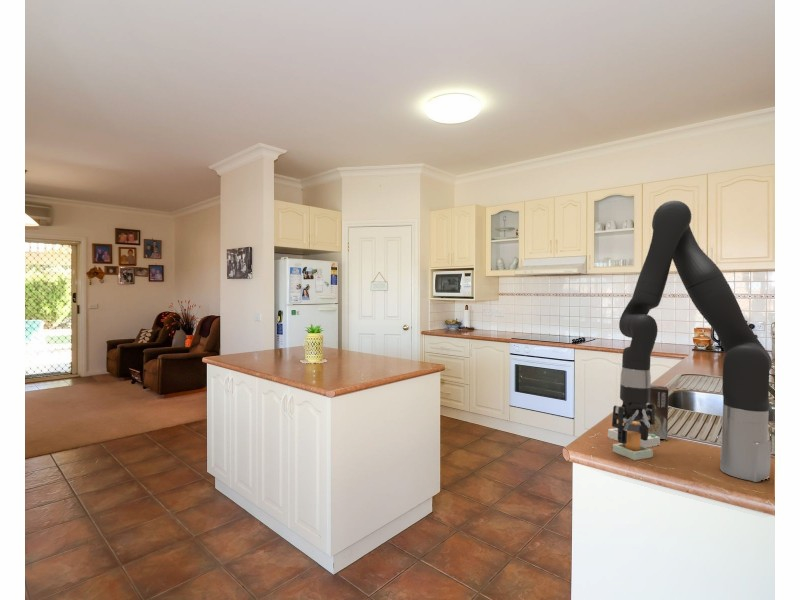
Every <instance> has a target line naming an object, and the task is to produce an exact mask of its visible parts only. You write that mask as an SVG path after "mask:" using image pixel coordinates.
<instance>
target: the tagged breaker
mask: <svg viewBox="0 0 800 600" xmlns="http://www.w3.org/2000/svg"><path fill="white" fill-rule="evenodd" d="M640 426H641V425H640V424H639V422H637V421H633V422H632V424H631V425H629V426H628V428H627V431H634V432H638V433H639V427H640Z"/></svg>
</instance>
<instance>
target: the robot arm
mask: <svg viewBox="0 0 800 600" xmlns="http://www.w3.org/2000/svg"><path fill="white" fill-rule="evenodd" d="M691 221H692V212H691V209H690V207H689V206H688V205H687V204H686V203H685V202H683V201H680V200H670V201H669V200H668V201H666V202H663V203H662V204H661V205H659V207H658V208H657V209H656V210H655V212H654V214H653V217H652V222H651V227H652V237H651V241H650V245H649V247H648V251H647V255H646V257H645V259H644V261H643V265H642V268H641V271H640V273H639V276H638V277H637V278H638V279H637V281H636V285H635V288H634V291H633V295H632V297H631V299H630V300H629V302H628V303H627V305H626V306H625V308H624V310H623V312H622V313H621V315H620V318H619V322H618V326H619V331H620V332H621V334H622V335H623V336H625V337H626V338H631V340H630V345H629V346H627V347H625V348H624V349H623V350H622V356H621V357H622V363H621V370H620V371H621V372H620V389H619V399H620V400H621V401H622V405H621V406H618V405H614V406H613V409H612V422H611V426H612V427H613V428H614V429H615V428H617V429H618V441H617V442H619V443H622V444H626V443H627V431H626V430H627V428H628V426H629V425H631V424H632V422H633V421H636V420H638V422H639V424H640V425H641V426H640V427H639V433H640V434H641V440H644V441H646V440H648V428H649V427H650V425H651V424H652V425H654V423H655V405H654V404H651V403H649V402H650V385H652V384H651V383H652V382H651V380H652V377H651V356H652V351H653V349H654V347H655V342H656V340H657V337H658V330H659V329H658V323H657V321H656V320H655V318H654V317H653V316H651V315H649V313H650V311H651V310H652V309H656V308H658V306H659V305H660V303H661V300H662V298H663V294H664V291H665V287H666V285H667V281H668V277H669V273H670V269H671V265H672V261H673V263H674V266H675V268H676V271H677V273H678V276H679V277H680V280H681V282H682V284H683V287H684V288H685V291H686V293H687V295H688V296H689V298H690V300H691V301H692V304H693V305H694V307H695V308H696V309H697V311H698V312H699V313H700V315H701V316H702V317H703V319H704V320H705V321H706V322H707V323H708V324H709V326H711V328H712V329H713V331H714V332H715V334H716V336H717V337H718V339H719V341H720V344H721V345H722V349H723V351H724V357H723V361H722V362H723V363H722V382H721V383H722V386H721V390H722V391H721V393H722V397H723V400H722V401H723V402H722V403H723V404H722V420H721V423H722V424H721V442H720V443H721V445H720V467H719V468H720V469H719V470H721V472H722V473H724V474H726V475H729V476H732V477H734V478H738V479H740V480H741V479H742V480H746V481H751V482H754V483H758V482H762V481H761V480H763V481H766V480H765V479H766V478H767V477H768V476H770V477H771V459H772V441H771V440H768V435H769V434H768V433H769V432H768V431H769V413H770V411H769V410H770V409H769V408H770V397H769V396H770V395H769V393H770V392H769V391H770V371H771V369H772V367H773V366H772V365H773V361H772V357H771V356H770V353H769V352H768V351H767V350H766V348H765V347H764V346H763V344H762V343H761V341H759V339H758V338H757V336H756V334H755V333H754V332H753V331H752V329H751V327H750V326H749V324H748V322H747V321H746V318H745V316H744V314H743V312H742V309H741V306H740V304H739V303H738V302H739V301H738V299H737V298H736V296H735V294H734V293H733V290H732V288H731V286H730V284H729V282H728V281H727V279H726V277H725V276H724V273H723V272H722V271H721V269H720V267H718V266H717V264H716V263H715V262H714V261H713V260H712V259H711V258H710V257H709V256H708V254H706V253H705V251H703V249H702V248H701V247H700V245H699V244H698V242H697V239H696V238H695V235H694V234H693V231H692V228H691V226H690V224H691ZM648 416H650V419H648ZM624 417H625V418H626V419H624ZM617 422H618V423H617ZM624 423H625V424H624Z"/></svg>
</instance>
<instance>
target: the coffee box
mask: <svg viewBox="0 0 800 600" xmlns="http://www.w3.org/2000/svg"><path fill="white" fill-rule="evenodd" d="M649 403H651V404H654V405H655V423H654V425H652V424H651V425H650V427H649V428H648V433H649V434H655V436H658V437H660V439H666V440H667V441H668V427H669V425H668V424H669V422H668V421H669V388H668V386H663V385H653V384H650V402H649ZM648 419H650V416H648ZM666 440H665V441H666Z"/></svg>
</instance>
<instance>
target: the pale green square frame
mask: <svg viewBox="0 0 800 600" xmlns="http://www.w3.org/2000/svg"><path fill="white" fill-rule="evenodd" d="M613 452H614V453H616V454H618V455H620V456H623V457H626V458H629V459H631V460H632V461H633V460H634V461H638V460H644V459H649V458H654V457H653V456H654V455H653V454H654V449H652V448H650V447H647V448H646V447H644V446H641V445H640V451H635V452H634V451H632V450H629V449H626V448H624V444H622V443H620V442H619V443H613V444H612V453H613Z"/></svg>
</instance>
